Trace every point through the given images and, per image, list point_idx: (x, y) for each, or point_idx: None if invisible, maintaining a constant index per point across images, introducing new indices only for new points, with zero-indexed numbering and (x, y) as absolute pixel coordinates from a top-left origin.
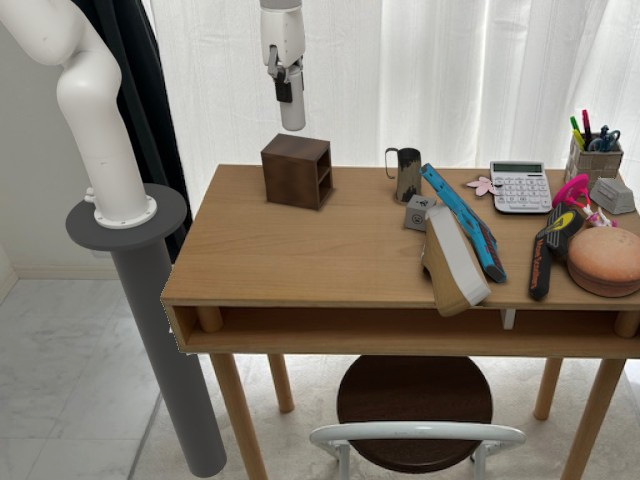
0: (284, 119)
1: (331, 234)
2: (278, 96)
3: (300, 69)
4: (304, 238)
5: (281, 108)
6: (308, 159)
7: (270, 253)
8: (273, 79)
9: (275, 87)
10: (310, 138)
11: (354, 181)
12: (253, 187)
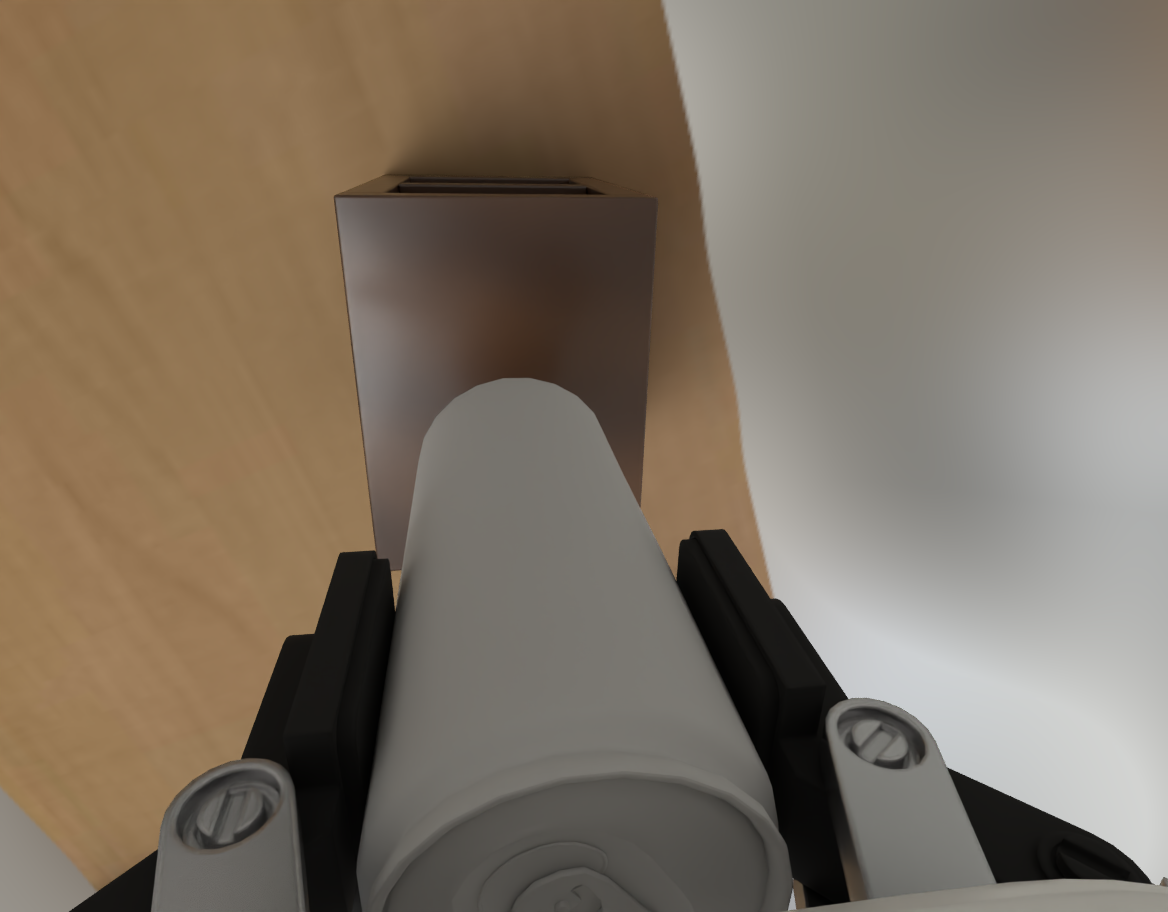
0: (419, 474)
1: (268, 548)
2: (286, 644)
3: (795, 880)
4: (187, 467)
5: (425, 497)
6: (378, 538)
7: (3, 383)
8: (161, 835)
9: (307, 664)
10: (637, 441)
11: (677, 483)
12: (483, 27)
